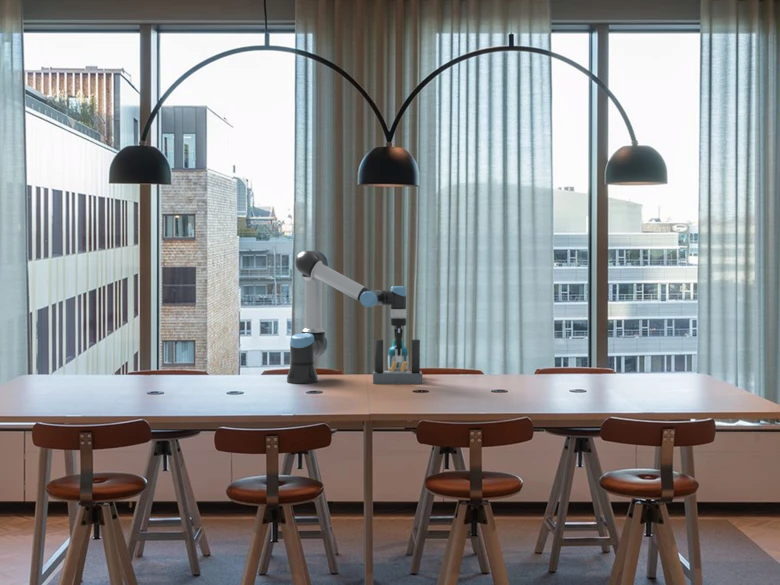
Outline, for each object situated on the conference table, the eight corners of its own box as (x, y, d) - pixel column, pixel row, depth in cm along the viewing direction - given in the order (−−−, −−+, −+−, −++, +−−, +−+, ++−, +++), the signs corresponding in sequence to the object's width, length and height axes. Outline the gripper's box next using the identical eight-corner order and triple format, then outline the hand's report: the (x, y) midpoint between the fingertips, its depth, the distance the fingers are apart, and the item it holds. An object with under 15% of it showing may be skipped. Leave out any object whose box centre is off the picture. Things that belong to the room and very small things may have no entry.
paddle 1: (390, 370, 466) (394, 361, 466) (390, 369, 469) (394, 361, 469) (393, 371, 466) (397, 363, 466) (393, 370, 469) (397, 362, 469)
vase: (384, 376, 490) (384, 339, 489) (402, 374, 495) (402, 338, 494) (393, 378, 481) (393, 340, 480) (411, 377, 485) (411, 340, 484)
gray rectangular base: (373, 383, 462) (373, 372, 462) (372, 380, 472) (373, 370, 472) (422, 383, 463) (422, 372, 463) (421, 380, 473) (421, 370, 473)
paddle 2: (400, 369, 466) (404, 361, 466) (400, 369, 469) (404, 361, 469) (403, 371, 466) (407, 363, 466) (403, 370, 469) (407, 362, 469)
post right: (411, 372, 466) (411, 340, 465) (411, 371, 470) (411, 339, 469) (419, 372, 466) (420, 340, 465) (419, 371, 470) (419, 339, 469)
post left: (375, 372, 465) (375, 340, 464) (375, 371, 469) (374, 339, 468) (383, 372, 465) (383, 340, 464) (383, 371, 469) (383, 339, 468)
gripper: (407, 319, 454) (407, 363, 455) (405, 315, 479) (405, 357, 480) (391, 319, 454) (391, 363, 455) (390, 315, 478) (390, 357, 479)
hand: (398, 360), depth 467 cm, fingers open, 13 cm apart
